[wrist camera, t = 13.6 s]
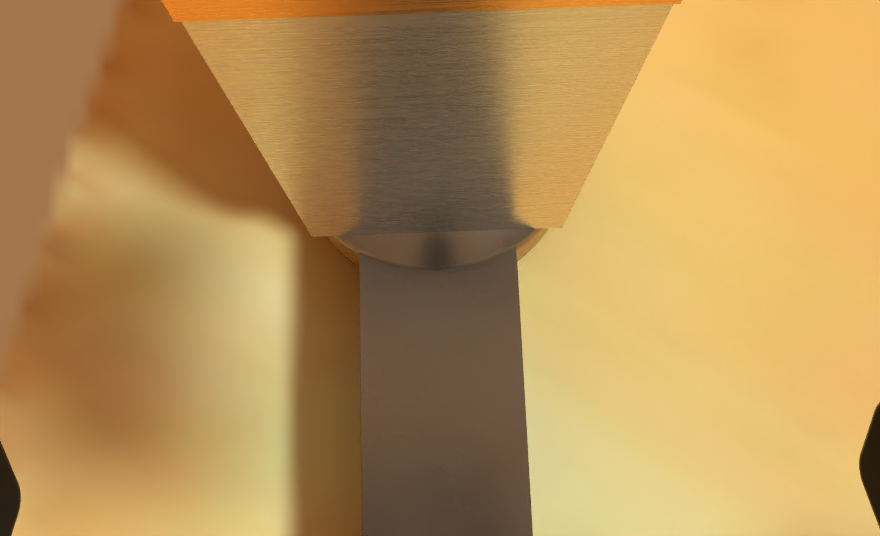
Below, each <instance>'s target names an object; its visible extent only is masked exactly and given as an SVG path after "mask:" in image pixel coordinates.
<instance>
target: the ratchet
mask: <svg viewBox="0 0 880 536" xmlns="http://www.w3.org/2000/svg"><path fill="white" fill-rule="evenodd" d="M547 230H548V228H536V229H509V230H482V231H455V232H428V233H401V234H374V235H347V236H327V238H328V239H329V240H330V241H331V243H332V244H333V245H334V246H335V247H336V248H337V249H338V250H339V251H340V252H341V253H342V254H343V255H345V256H346V257H347V258H348V259H350V260H351V261H352V262H353V263H354V264H356V265H358V266H359V283H360V377H361V471H362V536H533V532H532V515H531V497H530V480H529V462H528V445H527V427H526V410H525V392H524V375H523V357H522V340H521V322H520V305H519V287H518V270H517V261H518V260H520V259H521V258H522V257H523V256H524V255H526V254H527V253H528V252H529V251H530V250H531V249H532V248H533V247H534V246H535V245H536V244H537V243H538V241H539V240H540V239H541V238H542V236H543V235H544V234H545V233H546V231H547Z"/></svg>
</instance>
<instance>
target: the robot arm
mask: <svg viewBox="0 0 880 536" xmlns="http://www.w3.org/2000/svg"><path fill="white" fill-rule="evenodd" d="M859 469H860V475H861V479H862V483H863V485H864V488H865V491H866V493H867V496H868V499H869V501H870V504H871V507H872V509H873V512H874V515H875V517H876V520H877V523H878V525H879V528H880V403H879V404H878V405H877V407H876V409H875V411H874V414H873V417H872V421H871V424H870V427H869V430H868V433H867V436H866V439H865V442H864V445H863V448H862V451H861V454H860V460H859ZM20 501H21V494H20V488H19V484H18V482H17V479H16V477H15V474H14V472H13V470H12V467H11V465H10V463H9V460H8V458H7V456H6V453H5V451H4V448H3V446H2V444H1V441H0V536H11V535H12V532H13V529H14V525H15V522H16V519H17V516H18V512H19V508H20Z"/></svg>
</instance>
